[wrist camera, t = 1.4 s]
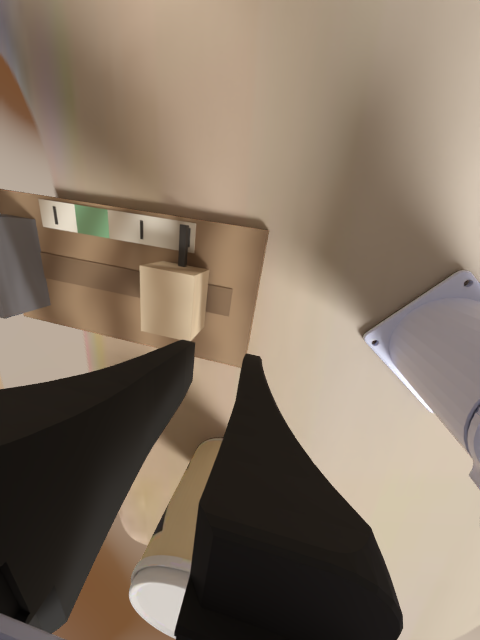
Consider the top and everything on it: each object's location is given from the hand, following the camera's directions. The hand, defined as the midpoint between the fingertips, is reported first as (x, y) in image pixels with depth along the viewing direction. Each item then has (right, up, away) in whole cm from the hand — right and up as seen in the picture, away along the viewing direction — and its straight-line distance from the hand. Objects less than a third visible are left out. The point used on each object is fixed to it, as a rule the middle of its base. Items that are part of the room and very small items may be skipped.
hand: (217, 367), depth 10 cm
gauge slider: (-4, +6, +8) cm, 11 cm away
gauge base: (-9, +6, +11) cm, 16 cm away
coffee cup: (-1, -15, +17) cm, 23 cm away
